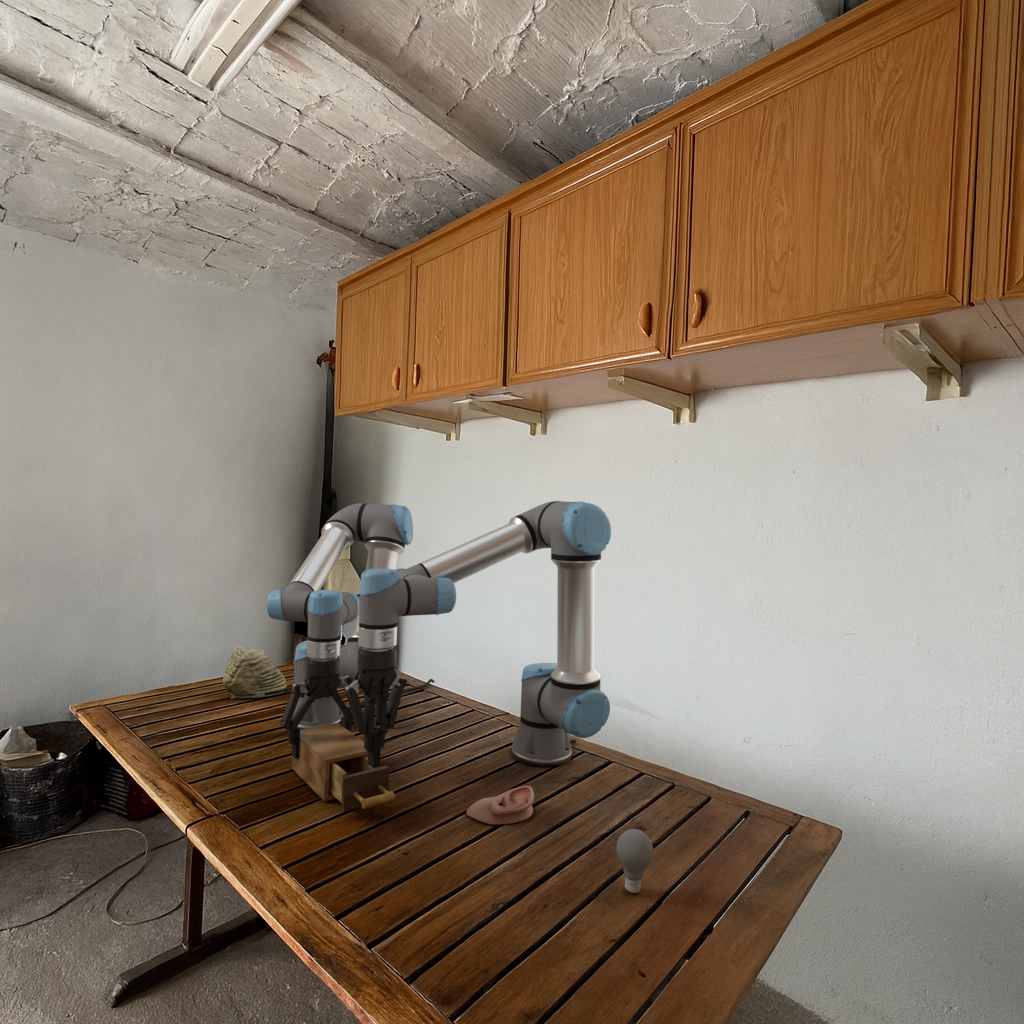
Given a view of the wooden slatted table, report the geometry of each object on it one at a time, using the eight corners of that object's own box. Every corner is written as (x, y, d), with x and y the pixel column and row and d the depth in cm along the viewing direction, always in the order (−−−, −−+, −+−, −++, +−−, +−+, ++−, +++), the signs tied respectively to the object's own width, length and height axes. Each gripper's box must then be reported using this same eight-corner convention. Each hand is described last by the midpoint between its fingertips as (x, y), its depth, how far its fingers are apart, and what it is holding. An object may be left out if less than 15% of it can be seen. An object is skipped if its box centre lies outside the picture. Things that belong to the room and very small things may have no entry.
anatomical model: (462, 800, 126) (477, 776, 137) (461, 820, 126) (476, 794, 137) (528, 810, 123) (537, 784, 135) (527, 830, 123) (536, 803, 135)
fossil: (218, 695, 195) (220, 647, 195) (278, 685, 208) (279, 640, 207) (228, 703, 189) (230, 653, 188) (289, 692, 201) (290, 645, 201)
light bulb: (610, 879, 108) (613, 822, 108) (644, 879, 109) (647, 822, 109) (619, 902, 102) (622, 840, 102) (655, 901, 103) (658, 840, 103)
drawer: (401, 811, 126) (403, 777, 126) (356, 824, 120) (357, 789, 120) (350, 768, 146) (351, 739, 146) (309, 778, 140) (310, 747, 140)
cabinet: (372, 788, 138) (374, 749, 138) (324, 801, 131) (325, 760, 131) (336, 758, 154) (337, 722, 154) (291, 768, 147) (292, 731, 147)
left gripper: (277, 667, 137) (274, 768, 138) (376, 655, 152) (373, 746, 152) (267, 659, 143) (263, 756, 143) (363, 648, 157) (360, 736, 158)
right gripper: (354, 655, 118) (350, 780, 119) (415, 647, 126) (411, 764, 127) (338, 647, 124) (334, 766, 125) (398, 639, 132) (394, 751, 133)
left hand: (320, 751), depth 148 cm, fingers closed on cabinet, 11 cm apart
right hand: (373, 765), depth 126 cm, fingers closed
